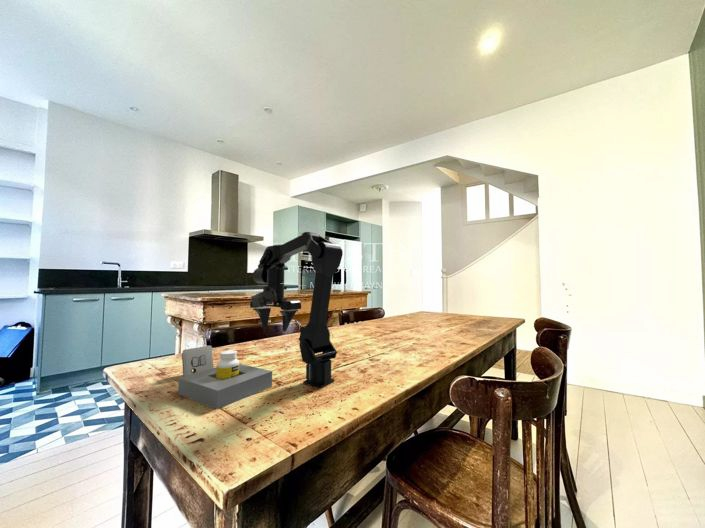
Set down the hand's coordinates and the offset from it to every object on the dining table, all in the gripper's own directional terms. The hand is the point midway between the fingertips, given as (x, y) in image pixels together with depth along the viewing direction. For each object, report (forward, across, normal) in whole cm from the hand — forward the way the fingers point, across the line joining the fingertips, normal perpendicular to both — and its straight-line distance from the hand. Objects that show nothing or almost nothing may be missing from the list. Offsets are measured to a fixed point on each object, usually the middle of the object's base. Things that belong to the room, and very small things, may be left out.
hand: (274, 330), depth 94 cm
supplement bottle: (+12, +5, -21) cm, 25 cm away
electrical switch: (+12, -14, -18) cm, 26 cm away
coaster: (+13, +26, -25) cm, 38 cm away
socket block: (+12, +5, -21) cm, 25 cm away
